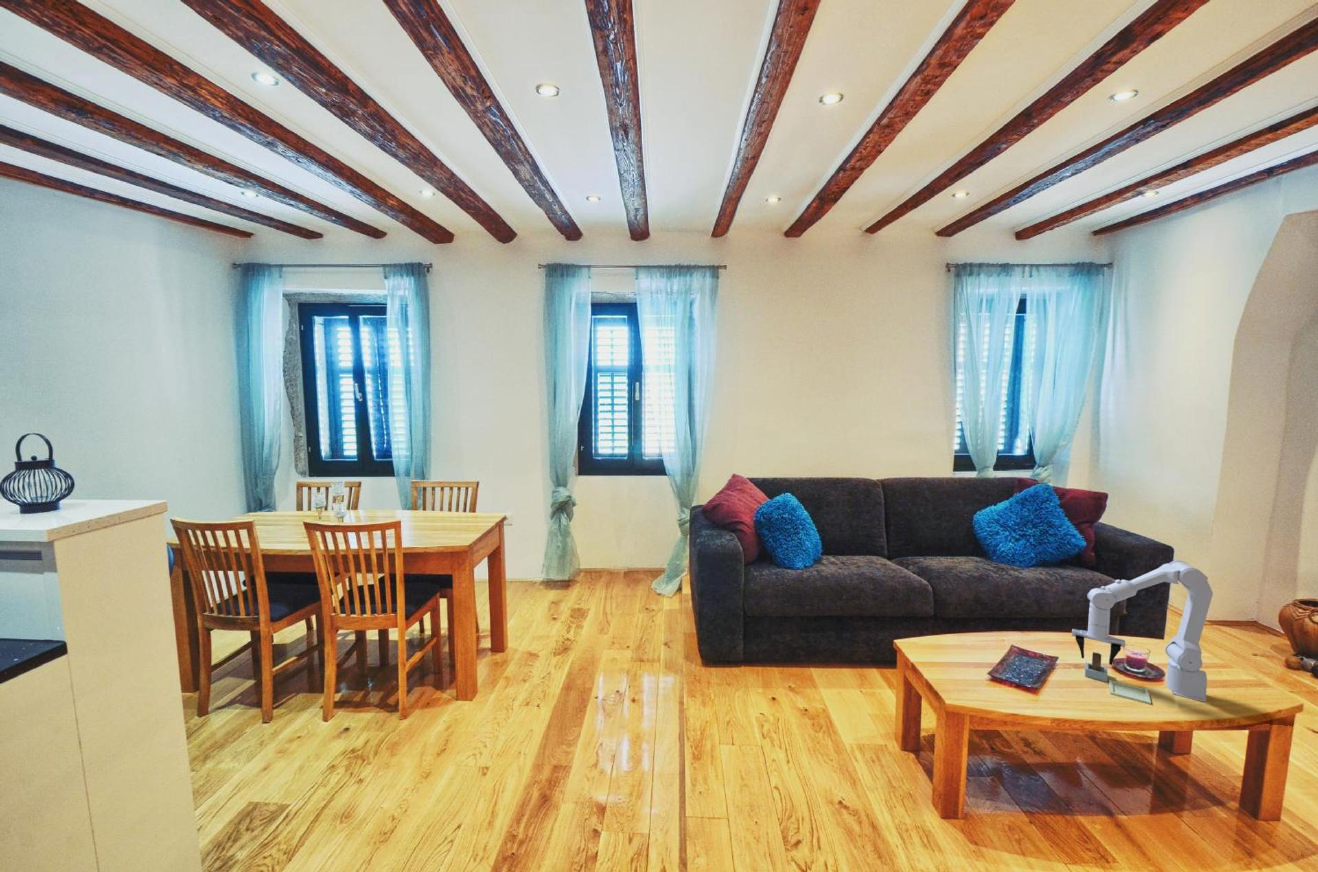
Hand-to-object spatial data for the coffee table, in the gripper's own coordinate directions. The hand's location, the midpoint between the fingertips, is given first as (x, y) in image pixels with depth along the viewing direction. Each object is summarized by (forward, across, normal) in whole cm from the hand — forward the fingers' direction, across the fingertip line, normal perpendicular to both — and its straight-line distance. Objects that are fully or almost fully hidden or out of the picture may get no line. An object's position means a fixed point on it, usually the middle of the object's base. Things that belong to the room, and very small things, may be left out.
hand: (1096, 660), depth 189 cm
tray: (+6, -9, +7) cm, 13 cm away
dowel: (+6, 0, 0) cm, 6 cm away
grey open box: (+6, 0, 0) cm, 6 cm away
